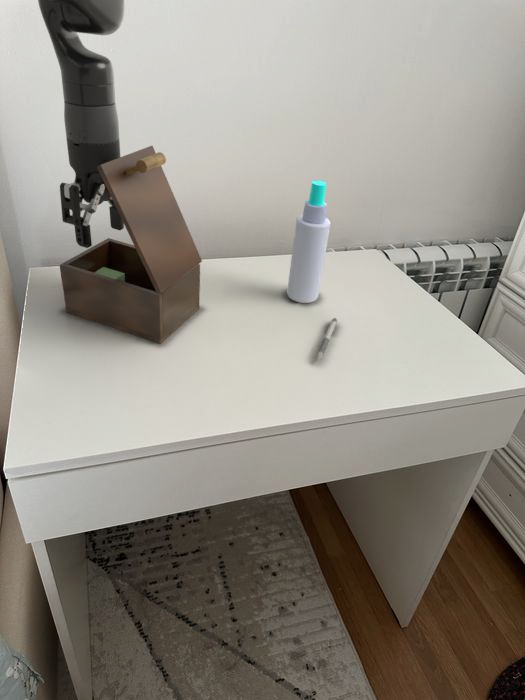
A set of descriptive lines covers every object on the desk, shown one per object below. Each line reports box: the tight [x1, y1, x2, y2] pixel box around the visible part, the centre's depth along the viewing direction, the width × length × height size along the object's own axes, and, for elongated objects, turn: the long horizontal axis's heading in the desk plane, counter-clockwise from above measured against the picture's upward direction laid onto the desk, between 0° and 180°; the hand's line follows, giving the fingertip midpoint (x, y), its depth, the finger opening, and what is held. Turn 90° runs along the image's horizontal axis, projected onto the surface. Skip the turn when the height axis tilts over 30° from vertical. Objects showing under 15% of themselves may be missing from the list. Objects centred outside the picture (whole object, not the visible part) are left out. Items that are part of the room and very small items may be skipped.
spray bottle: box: [286, 180, 331, 304], centre depth 97 cm, size 6×6×22 cm
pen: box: [316, 317, 338, 362], centre depth 90 cm, size 1×14×1 cm, turn 162°
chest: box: [59, 237, 201, 345], centre depth 91 cm, size 19×13×9 cm
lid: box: [97, 145, 203, 294], centre depth 81 cm, size 20×13×5 cm
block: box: [94, 267, 125, 282], centre depth 93 cm, size 4×4×4 cm
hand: (101, 237), depth 88 cm, fingers open, 8 cm apart
